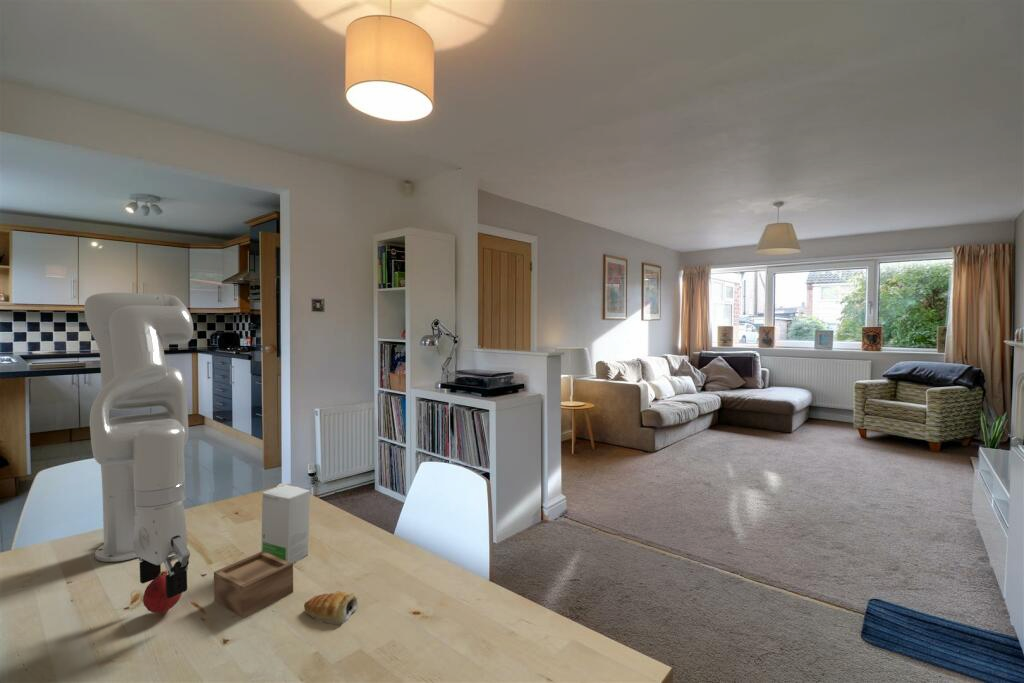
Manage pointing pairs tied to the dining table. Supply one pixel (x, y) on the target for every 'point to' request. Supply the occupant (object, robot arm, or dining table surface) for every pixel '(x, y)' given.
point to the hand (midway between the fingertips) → (163, 586)
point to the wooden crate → (253, 583)
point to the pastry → (332, 607)
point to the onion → (159, 595)
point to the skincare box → (286, 522)
